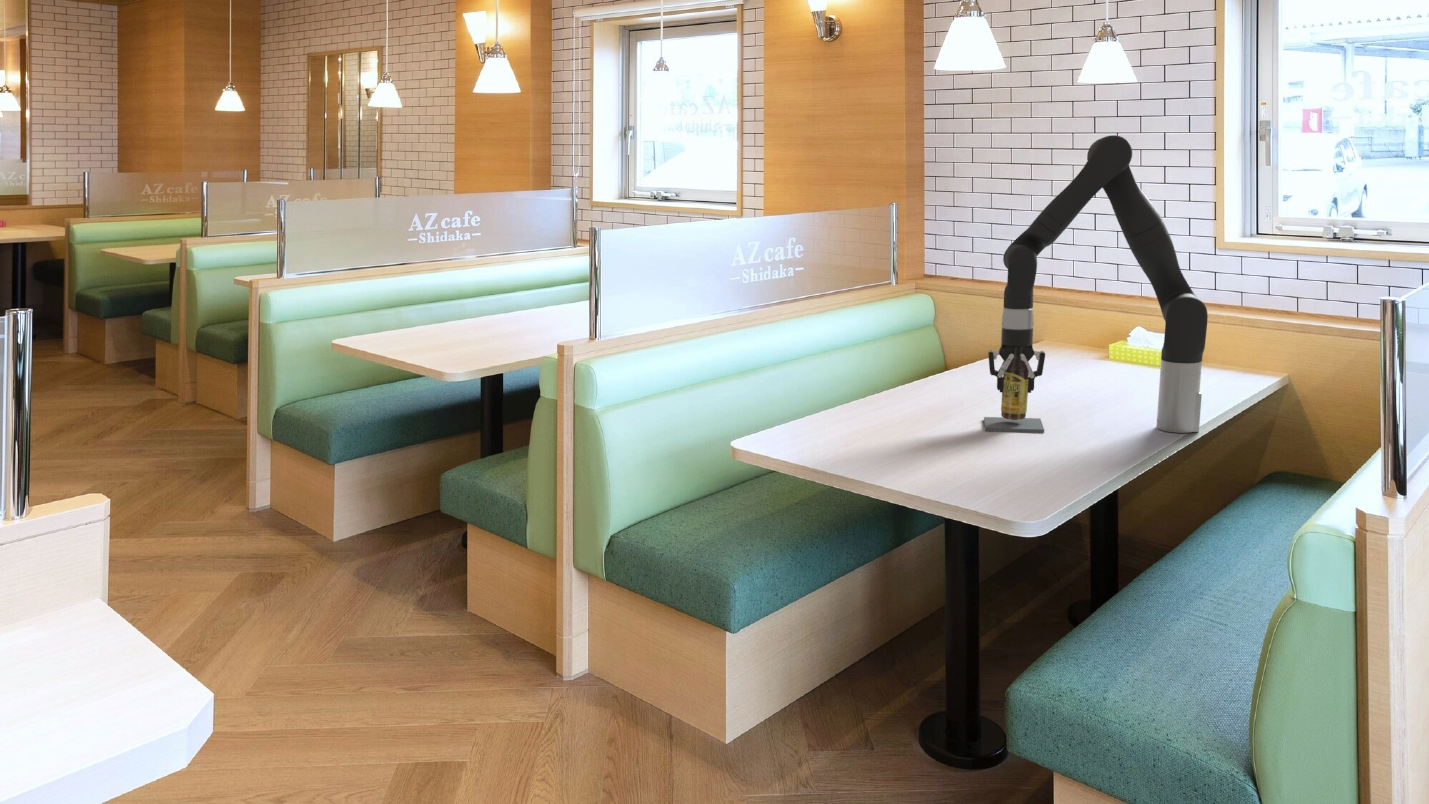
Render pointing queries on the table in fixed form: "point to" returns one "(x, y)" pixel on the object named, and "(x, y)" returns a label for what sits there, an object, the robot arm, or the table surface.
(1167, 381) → the robot arm
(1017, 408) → the sauce bottle
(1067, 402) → the table surface
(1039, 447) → the table surface
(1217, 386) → the table surface
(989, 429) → the placemat
